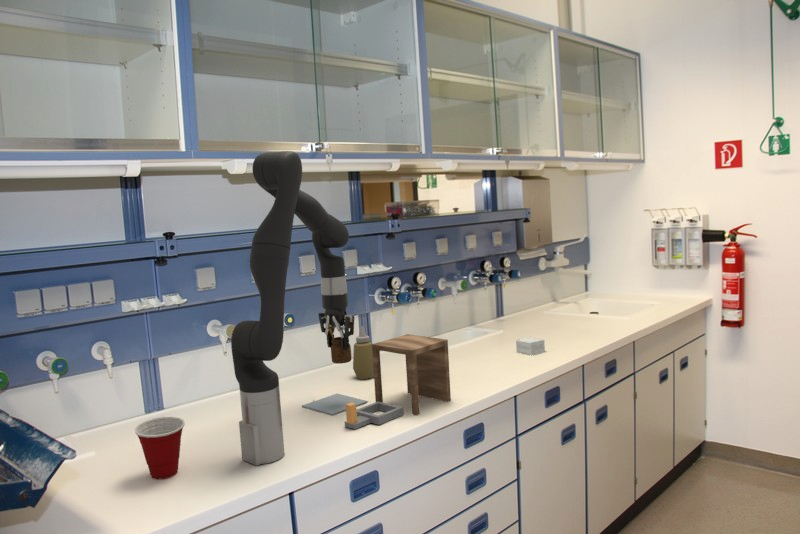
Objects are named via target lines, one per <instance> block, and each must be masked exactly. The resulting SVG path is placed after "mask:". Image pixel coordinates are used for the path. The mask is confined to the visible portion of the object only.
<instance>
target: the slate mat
mask: <svg viewBox="0 0 800 534" xmlns="http://www.w3.org/2000/svg"><path fill="white" fill-rule="evenodd" d="M348 403H355V404H356V408H357V407H360V406H362V405H366V404H368V403H369V401H368V400H365V399H360V398H357V397H354V396H348V395H345V394H341V393H334V394H332V395H328V396H326V397H322V398H320V399H317V400H314V401H311V402H308V403H305V404H302V405H301V407H302V408H304V409H307V410H311V411H315V412H318V413H320V414H325V415H327V416H332V417H333V416H335V415H338V414H341V413H344V412H346V404H348Z"/></svg>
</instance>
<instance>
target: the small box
mask: <svg viewBox="0 0 800 534" xmlns="http://www.w3.org/2000/svg"><path fill="white" fill-rule="evenodd" d="M515 345H516V346H515V348H516V353H517V354H520V353H521V355H525V354H526V356H530V355H531V356H532V355H533V356H535V355H540V354H544V353H546V349H545V348H546V347H545V346H546V345H545V339H541V338H536V337H531V336H529V337H524V338H519V339H515ZM543 352H544V353H543Z"/></svg>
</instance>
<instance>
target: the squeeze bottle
mask: <svg viewBox="0 0 800 534" xmlns="http://www.w3.org/2000/svg"><path fill="white" fill-rule="evenodd" d="M355 340H356V341H355V343H354V344H353V352H352V353H353V356H352V357H353V360H352V369H353V372H354V374H355V377H356V378H357V379H358V378H359V379H358V380H369V379H368V378H370V379H372V378H374V377H373V376H374V368H373V353H372V344H373V342H371V340H370V336H369V335H367V333H366V329H365V326H364V325H361V326H360V327H359V334H358V336H356V337H355Z"/></svg>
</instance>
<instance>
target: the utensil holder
mask: <svg viewBox="0 0 800 534" xmlns="http://www.w3.org/2000/svg"><path fill="white" fill-rule="evenodd" d="M327 324H328V323H327ZM328 327H329V326H328ZM329 330H330V333H331V335H332V337H333V334H334V333H333V334H332V330H331V328H330V327H329ZM343 332H344V333H345V331H343ZM341 338H342V337H341V336H337V337H335V336H334V337H333V338H332V340H331V343H332V345H331V348H330V355H331V356H330V357H331V362H332V363H333V364H339V365H341V364H346V363H350V362H351V361H352V357H353V356H352V346H351V344H350V343H349V349H348V350H342V348H341Z"/></svg>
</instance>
